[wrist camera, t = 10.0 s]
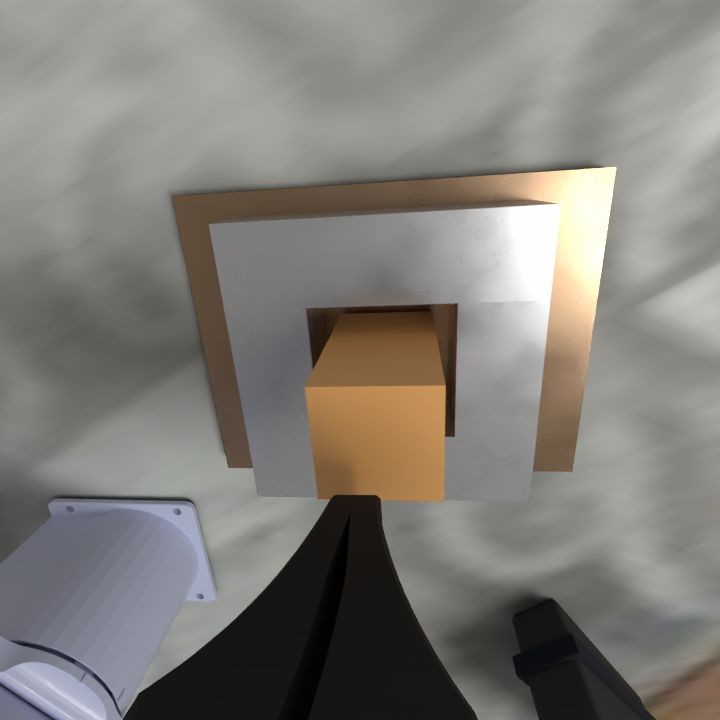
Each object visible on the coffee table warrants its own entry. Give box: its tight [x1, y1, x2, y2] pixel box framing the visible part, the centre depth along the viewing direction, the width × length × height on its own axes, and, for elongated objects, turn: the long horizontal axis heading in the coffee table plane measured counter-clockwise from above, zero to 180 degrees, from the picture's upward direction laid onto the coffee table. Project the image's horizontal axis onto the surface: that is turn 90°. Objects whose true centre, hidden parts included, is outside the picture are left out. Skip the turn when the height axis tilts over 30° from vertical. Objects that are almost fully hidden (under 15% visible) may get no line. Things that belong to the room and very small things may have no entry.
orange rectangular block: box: [305, 311, 446, 502], centre depth 17 cm, size 4×4×8 cm
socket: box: [172, 167, 616, 502], centre depth 19 cm, size 18×14×4 cm
